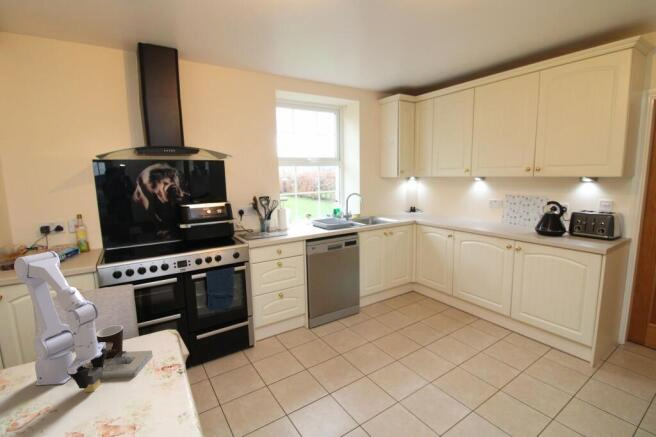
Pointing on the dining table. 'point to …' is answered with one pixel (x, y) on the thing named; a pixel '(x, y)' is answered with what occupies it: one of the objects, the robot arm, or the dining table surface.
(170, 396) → the dining table surface
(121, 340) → the coffee mug
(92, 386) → the plug
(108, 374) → the socket
